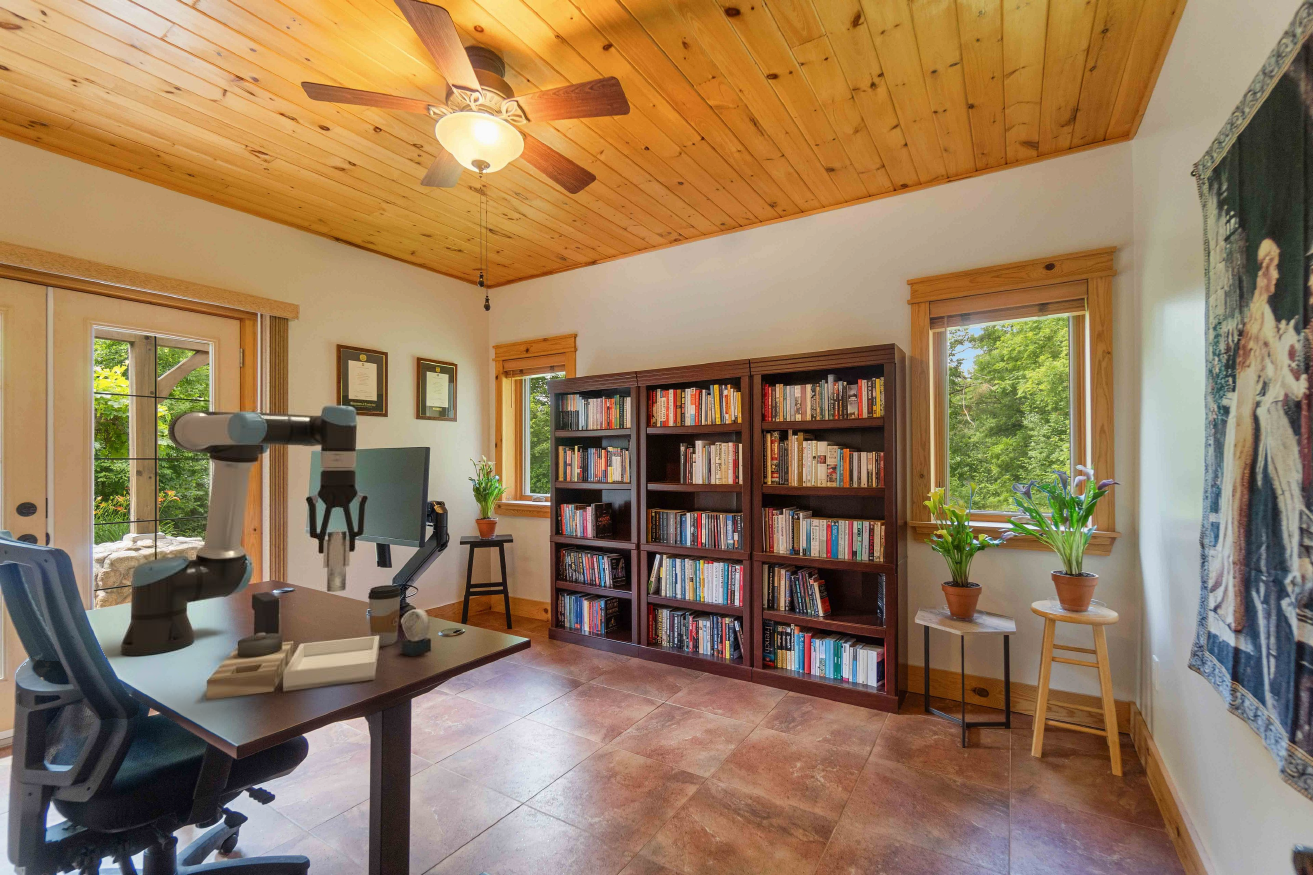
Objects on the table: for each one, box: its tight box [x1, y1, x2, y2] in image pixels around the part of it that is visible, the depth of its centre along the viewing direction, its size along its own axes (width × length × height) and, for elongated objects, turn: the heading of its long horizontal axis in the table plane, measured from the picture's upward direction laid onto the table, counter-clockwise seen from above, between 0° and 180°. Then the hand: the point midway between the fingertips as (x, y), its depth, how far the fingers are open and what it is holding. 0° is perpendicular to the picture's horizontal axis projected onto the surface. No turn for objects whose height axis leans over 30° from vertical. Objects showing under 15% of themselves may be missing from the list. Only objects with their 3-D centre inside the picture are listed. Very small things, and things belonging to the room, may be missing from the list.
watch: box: [400, 608, 432, 658], centre depth 155 cm, size 6×8×11 cm
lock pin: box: [326, 530, 348, 593], centre depth 143 cm, size 4×4×14 cm
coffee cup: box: [367, 584, 402, 647], centre depth 163 cm, size 8×8×15 cm
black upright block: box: [251, 591, 282, 636], centre depth 154 cm, size 11×4×15 cm, turn 47°
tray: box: [282, 635, 380, 692], centre depth 143 cm, size 22×18×4 cm
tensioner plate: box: [205, 633, 294, 701], centre depth 138 cm, size 24×12×8 cm, turn 23°
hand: (336, 566), depth 143 cm, fingers closed on lock pin, 4 cm apart
